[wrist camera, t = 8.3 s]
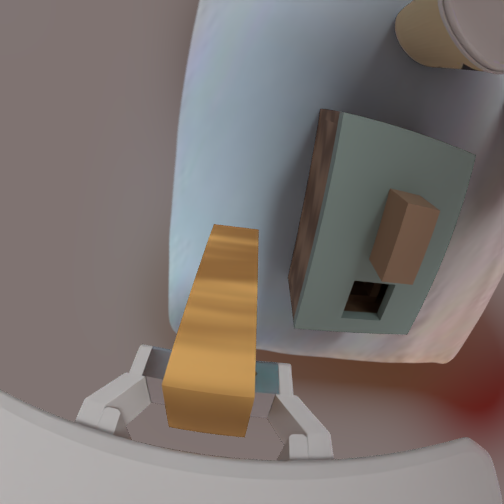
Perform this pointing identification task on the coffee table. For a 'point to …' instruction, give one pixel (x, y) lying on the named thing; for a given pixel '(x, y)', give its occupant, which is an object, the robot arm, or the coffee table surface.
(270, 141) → the coffee table surface
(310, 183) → the toolbox
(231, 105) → the coffee table surface
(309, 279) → the toolbox lid
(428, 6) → the coffee cup
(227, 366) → the wooden block
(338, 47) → the coffee table surface
